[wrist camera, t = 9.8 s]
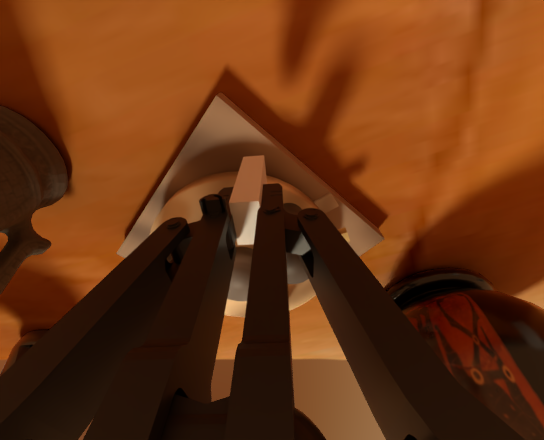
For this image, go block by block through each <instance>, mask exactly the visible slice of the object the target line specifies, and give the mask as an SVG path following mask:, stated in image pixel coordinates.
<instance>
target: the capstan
mask: <svg viewBox="0 0 544 440" xmlns="http://www.w3.org/2000/svg"><path fill="white" fill-rule="evenodd" d="M238 172H239V171H234V172H222V173H217V174H212V175H208V176H205V177H202V178H199V179H197V180H195V181H193V182H191V183H189V184H187V185H185V186H184V187H183V188H181V189H180V190H178V191H177V192H176V193H175V194H174V195H173V196H172V197H171V198H170V199H169V200H168V202H167V203H166V204H165V206H164V207H163V208H162V210H161V211H160V213H159V214H158V216H157V217H156V218H155V221H154V223H153V225H152V227H151V231H150V234H152V233H153V232H154V231H155V230H156V229H157V228H158V227H159V226H160V225H161V224H162V223H163V222H165V221H167V220H169V219H171V218H175V217H182V218H185V219H186V220H187V223H192V222H196V221H199V220H201V218H202V215H203V214H202V210H201V207H200V204H199V200H200V199H201V198H202V197H204V196H206V195H209V194H218V192H219V191H220V190H221V189H223V188H225V187H234V185H235V182H236V179H237V175H238ZM266 178H267V184H273V183H279V184H280V185H281V186H282V191H283V206H284V210H285V211H286V212H288V213H290V214H294V215H297V214H298V213H299V212H300V211H301V210H303V209H306V208H317V209H319V208H318V206H317V205H316V204H315V203H314V202H313V201H312V200H311V199H310V198H309V197H308V196H307V195H305V194H304V193H303V192H302V191H300V190H299V189H297V188H295V187H294V186H292V185H291V184H289V183H286V182H284V181H282V180H280V179H277V178H274V177H271V176H267V175H266ZM319 210H320V209H319ZM338 231H339V232H340V233H341V235H342V236H343V237H344V238H345V240H346V241H347V242H350V239H349V236H348V233H347V231H346V228H345V227H344V228H341V229H338ZM235 245H236V251H237V252H236V257H235V262H234V267H233V272H232V277H231V282H230V288H229V293H228V298H227V303H226V308H225V313H224V315H228V316H235V317H245V312H246V304H247V296H248V287H249V279H250V270H251V262H252V254H253V245H254V244H250V245H238V244H237V239H236V242H235ZM286 257H287V277H288V296H289V311H290V310H292V309H295V308H297V307H299V306H301V305H303V304H304V303H306V302H308V301H309V300H311V299H312V298H313V297H314V296H315V295H316V293H315V291H314V289H313V287H312V285H311V283H310V281H309V278H308V276H307V274H306V272H305V270H304V268H303V266H302V264H301V262H300V259H299V256H298V255H297V254H292V253H287V252H286ZM171 260H172V257H171V254H170V255H169V256H168V257H167V261H168V262H170V261H171Z"/></svg>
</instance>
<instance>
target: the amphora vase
mask: <svg viewBox="0 0 544 440" xmlns="http://www.w3.org/2000/svg"><path fill="white" fill-rule="evenodd" d="M387 293H388V294H389V295H390V297H391V298H392V299H393V300H394V302H395V303H396V304H397V306H398V307H399V308H400V309H401V311H402V312H403V313H404V314H405V316H406V317H407V318H408V319H409V321H410V322H411V323H412V325H413V326H414V327H415V328H416V330H417V331H418V332H419V333H420V335H421V336H422V337H423V338H424V340H425V341H426V342H427V344H428V345H429V346H430V347H431V349H432V350H433V351H434V352H435V354H436V355H437V356H438V357H439V359H440V360H441V361H442V363H443V364H444V365H445V366H446V368H447V369H448V370H449V371H450V373H451V374H452V375H453V376H454V378H455V379H456V380H457V382H458V383H459V384H460V385H461V386H462V387H463V388H465V389H466V390H467V391H468V392H469V393H471V394H472V395H473V396H474V397H475V398H477V399H478V400H479V401H480V402H481V403H482V404H484V405H485V406H486V407H487V408H488V409H490V410H491V411H492V412H493V413H494V414H496V415H497V416H498V417H499V418H500V419H501V420H503V421H504V422H505V423H506V424H507V425H509V426H510V427H511V428H512V429H513V430H515V431H516V432H517V433H518V434H519V435H520V436H522V437H523V438H524V439H525V440H544V309H542V308H541V307H539V306H537V305H535V304H533V303H531V302H528V301H525V300H522V299H519V298H516V297H513V296H510V295H507V294H504V293H501V292H497V291H495V289H494V287H493V285H492V283H491V282H489V281H488V280H487V279H486V278H484V277H483V276H482V275H481V274H479V273H476V272H473V271H470V270H466V269H456V268H443V269H433V270H429V271H425V272H421V273H417V274H415V275H413V276H410V277H408V278H406V279H403V280H402V281H400V282H398V283H397V284H395V285H394V286H392V287H391V288H390V289H389V290H388V291H387Z"/></svg>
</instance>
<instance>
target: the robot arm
mask: <svg viewBox="0 0 544 440" xmlns="http://www.w3.org/2000/svg"><path fill="white" fill-rule="evenodd" d="M199 204H200V207H201V210H202V214H203V215H202V218H201V220H199V221H196V222H192V223H187V220H186V219H185V218H182V217H175V218H171V219H169V220H167V221H165V222H163V223H162V224H161V225H160V226H159V227H158V228H157V229H156V230H155V231H154V232H153V233H152V234H150V235H149V236H148V237H147V238H146V239H145V240H144V241H143V242H142V243H141V244H140V245H139V246H138V247H137V248H136V249H135V250H134V251H132V252H131V253H130V254H129V255H128V256H127V257H126V258H125V259H124V260H123V261H122V262H121V263H120V264H119V265H118V266H117V267H116V268H114V269H113V270H112V271H111V272H110V273H109V274H108V275H107V276H106V277H105V278H104V279H103V280H102V281H101V282H100V283H99V284H98V285H96V286H95V287H94V288H93V289H92V290H91V291H90V292H89V293H88V294H87V295H86V296H85V297H84V298H83V299H82V300H81V301H80V302H78V303H77V304H76V305H75V306H74V307H73V308H72V309H71V310H70V311H69V312H68V313H67V314H66V315H65V316H64V317H63V318H62V319H60V320H59V321H58V322H57V323H56V324H55V325H54V326H53V327H52V328H51V329H50V330H36V331H31V332H28V333H26V334H25V335H24V336H23V337H22V338H21V339H20V340H19V342H18V343H17V344H16V345H15V346H14V348H13V349H12V351H11V353H10V355H9V357H8V359H7V361H6V363H5V365H4V368H3V370H2V372H1V374H0V440H78V439H79V437H80V436H81V435H82V433H83V432H84V431H85V429H86V428H87V426H88V425H89V424H90V422H91V421H92V420H93V421H92V423H91V425H90V427H89V429H88V431H87V433H86V435H85V437H84V439H83V440H326V439H325V437H324V436H323V434H322V433H321V432H320V430H319V429H318V428H317V427H316V425H315V424H314V423H313V422H312V421H311V420H310V419H309V418H308V417H307V416H306V415H305V414H304V413H302V412H301V411H299V410H298V409H296V408H295V407H294V392H293V391H294V390H293V372H292V353H291V334H290V315H289V296H288V277H287V257H286V252H287V253H292V254H297V255H298V256H299V259H300V262H301V264H302V266H303V268H304V270H305V272H306V274H307V276H308V278H309V281H310V283H311V285H312V287H313V289H314V291H315V293H316V295H317V297H318V300H319V302H320V304H321V306H322V308H323V310H324V312H325V314H326V316H327V319H328V321H329V323H330V325H331V327H332V329H333V331H334V333H335V335H336V338H337V340H338V342H339V344H340V346H341V348H342V350H343V352H344V354H345V357H346V359H347V361H348V363H349V365H350V367H351V369H352V371H353V373H354V376H355V378H356V379H357V382H358V384H359V386H360V388H361V390H362V392H363V394H364V396H365V399H366V401H367V403H368V405H369V407H370V409H371V411H372V413H373V416H374V417H375V419H376V421H377V423H378V425H379V427H380V429H381V431H382V433H383V435H384V437H385V438H386V440H525V439H524V438H523V437H522V436H520V435H519V434H518V433H517V432H516V431H515V430H513V429H512V428H511V427H510V426H509V425H507V424H506V423H505V422H504V421H503V420H501V419H500V418H499V417H498V416H497V415H496V414H494V413H493V412H492V411H491V410H490V409H488V408H487V407H486V406H485V405H484V404H482V403H481V402H480V401H479V400H478V399H477V398H475V397H474V396H473V395H472V394H471V393H469V392H468V391H467V390H466V389H465V388H463V387H462V386H461V385H460V384H459V383H458V382H457V380H456V379H455V378H454V376H453V375H452V374H451V373H450V371H449V370H448V369H447V368H446V366H445V365H444V364H443V363H442V361H441V360H440V359H439V357H438V356H437V355H436V354H435V352H434V351H433V350H432V349H431V347H430V346H429V345H428V344H427V342H426V341H425V340H424V338H423V337H422V336H421V335H420V333H419V332H418V331H417V330H416V328H415V327H414V326H413V325H412V323H411V322H410V321H409V319H408V318H407V317H406V316H405V314H404V313H403V312H402V311H401V309H400V308H399V307H398V306H397V304H396V303H395V302H394V300H393V299H392V298H391V297H390V295H389V294H388V293H387V292H386V290H385V289H384V288H383V287H382V285H381V284H380V283H379V281H378V280H377V279H376V278H375V276H374V275H373V274H372V273H371V271H370V270H369V269H368V268H367V266H366V265H365V264H364V262H363V261H362V260H361V259H360V257H359V256H358V255H357V254H356V252H355V251H354V250H353V249H352V247H351V246H350V245H349V243H348V242H347V241H346V240H345V238H344V237H343V236H342V235H341V233H340V232H339V231H338V230H337V228H336V227H335V226H334V224H333V223H332V222H331V221H330V219H329V218H328V217H327V216H326V214H325V213H324V212H323V211H322V210H319V209H317V208H306V209H303V210H301V211H300V212H299V213H298V214H297V215H294V214H290V213H288V212H286V211H285V210H284V206H283V191H282V186H281V185H280V184H279V183H273V184H267V178H266V169H265V159H264V155H260V156H247V157H243V160H242V163H241V166H240V169H239V172H238V175H237V179H236V182H235V185H234V187H225V188H223V189H221V190H220V191H219V192H218V194H209V195H206V196H204V197H202V198H201V199H200V200H199ZM236 239H237V244H238V245H250V244H254V245H253V254H252V262H251V270H250V279H249V287H248V296H247V304H246V312H245V321H244V329H243V337H242V341H241V343H240V344H238V347H237V350H236V355H235V362H234V370H233V377H232V385H231V392H230V396H229V397H226V398H223V399H220V400H217V401H214V402H211V380H212V375H213V370H214V365H215V359H216V354H217V349H218V344H219V339H220V334H221V329H222V323H223V318H224V313H225V308H226V303H227V298H228V293H229V288H230V282H231V277H232V272H233V267H234V262H235V257H236V252H237V251H236V245H235V242H236ZM170 254H171V257H172V260H171V261H170V262H168V261H167V257H168V256H169V255H170ZM93 418H94V419H93Z"/></svg>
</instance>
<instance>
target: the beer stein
mask: <svg viewBox="0 0 544 440" xmlns="http://www.w3.org/2000/svg"><path fill="white" fill-rule="evenodd" d="M67 186H68V175H67V169H66V166H65V163H64V160H63V158H62V157H61V155H60V153H59V151H58V150H57V149H56V147H55V146H54V145H53V144H52V142H51V141H50V140H49V139H48V137H47V136H46V135H45V134H44V133H43V132H42V131H41V130H40V129H38V128H37V127H36V126H35V125H34V124H33V123H32V122H31V121H29V120H28V119H26V118H25V117H23V116H22V115H20V114H18V113H16V112H14V111H12V110H10V109H8V108H6V107H3V106H0V232H2V233H5V234H6V235H7V236H8V242H7V243H6V245H5V246H4V248H3V249H2V251H1V252H0V294H1V293H2V292H3V290H4V289H5V287H6V286H7V284H8V283H9V281H10V280H11V278H12V277H13V275H14V274H15V272H16V271H17V269H18V268H19V266H20V265H21V264H22V262H23V261H24V260H25V259H26V258H27V257H29V256H31V255H38V254H42V253H44V252H45V251H46V250H47V249H48V248H49V247H50V246H51V242H50V241H49V240H47V239H45V238H42V237H41V236H40V235H38V234H37V233H36V232H35V231H34V229H33V227H32V223H31V218H32V215H33V213H34V212H35V211H36V210H37V209H40V208H43V207H46V206H49V205H52V204H54V203H55V202H57V201H58V200H59V199H61V198H62V197H63V195H64V193H65V191H66V189H67Z"/></svg>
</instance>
